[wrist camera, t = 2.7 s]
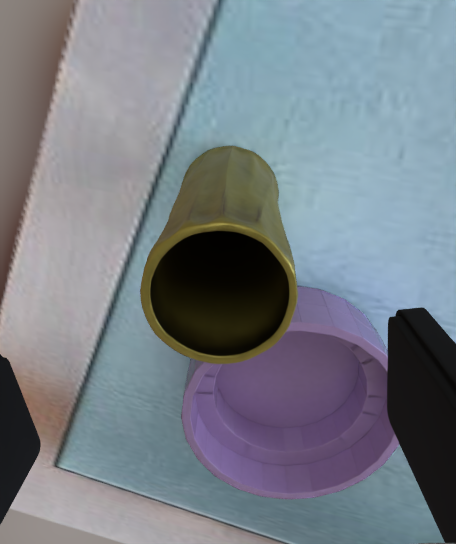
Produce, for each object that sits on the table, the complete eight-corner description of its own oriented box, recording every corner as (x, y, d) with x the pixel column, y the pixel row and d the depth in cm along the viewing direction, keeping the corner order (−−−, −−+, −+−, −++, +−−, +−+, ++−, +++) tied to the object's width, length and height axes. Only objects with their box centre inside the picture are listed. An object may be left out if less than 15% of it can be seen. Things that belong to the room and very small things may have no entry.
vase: (274, 140, 26) (310, 197, 12) (281, 237, 28) (316, 370, 15) (174, 151, 26) (106, 217, 13) (189, 245, 28) (144, 382, 15)
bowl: (176, 293, 30) (162, 335, 25) (383, 271, 29) (413, 311, 24) (206, 445, 35) (200, 505, 30) (380, 432, 34) (404, 492, 29)
